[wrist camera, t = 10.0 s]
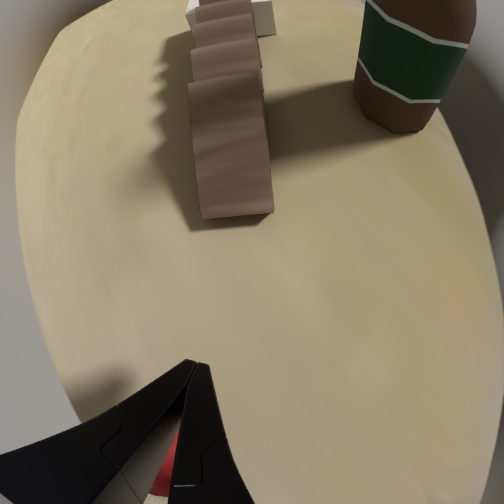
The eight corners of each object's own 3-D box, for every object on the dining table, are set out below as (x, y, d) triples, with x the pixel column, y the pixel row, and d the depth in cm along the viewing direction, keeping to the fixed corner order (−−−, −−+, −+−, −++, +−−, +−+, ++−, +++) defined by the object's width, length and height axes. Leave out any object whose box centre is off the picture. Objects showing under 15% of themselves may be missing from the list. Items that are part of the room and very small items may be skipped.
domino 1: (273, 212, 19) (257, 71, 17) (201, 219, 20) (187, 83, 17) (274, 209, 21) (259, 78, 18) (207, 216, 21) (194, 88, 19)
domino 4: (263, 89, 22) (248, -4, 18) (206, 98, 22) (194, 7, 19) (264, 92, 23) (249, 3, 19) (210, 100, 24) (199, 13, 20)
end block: (276, 34, 25) (271, 0, 20) (198, 46, 26) (185, 15, 21) (272, 15, 26) (267, -16, 21) (201, 26, 27) (190, -3, 22)
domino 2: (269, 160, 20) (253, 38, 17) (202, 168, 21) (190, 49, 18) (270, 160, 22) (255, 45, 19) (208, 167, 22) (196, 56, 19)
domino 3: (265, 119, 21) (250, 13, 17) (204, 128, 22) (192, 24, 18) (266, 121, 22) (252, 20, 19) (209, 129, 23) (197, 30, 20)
